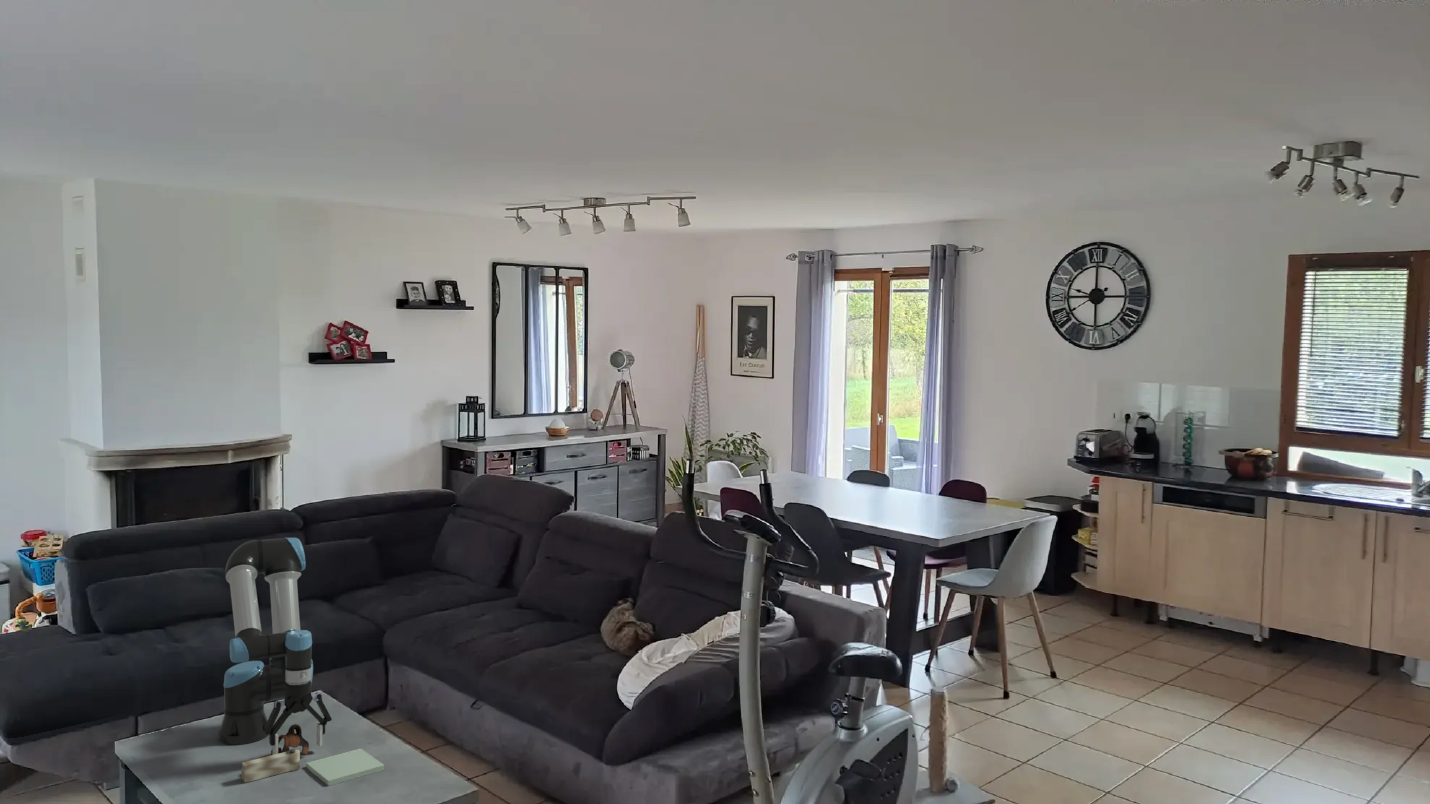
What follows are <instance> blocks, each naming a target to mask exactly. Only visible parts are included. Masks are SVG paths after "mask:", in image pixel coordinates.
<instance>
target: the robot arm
mask: <svg viewBox="0 0 1430 804" xmlns="http://www.w3.org/2000/svg"><path fill="white" fill-rule="evenodd" d="M305 569H306V555H305V550H304V546H303V544H302V541H301V540H300V539H299V538H297V537H286V536H285V537H280V538H279V537H278V538H268V539H252V540H248V541H246V542H244V543H242V544H240V545H239V546H238V547H237V548H235V549H234V550H233V552H232V553H231V554H230V556H229V557H228V560H227V562H226V564H225V570H224V571H225V572H224V573H225V574H224V575H225V580H226V582H227V583H228V584H229V587H230V588H229V589H230V597H231V607H232V615H233V625H234V626H233V627H234V636H235V638H231V639H230V641H229V657H230V658H229V659H230V661H231V663H235V665H233V666H231V667H230V668H228V669H227V670H226V671H225V672H224V679H223V680H224V681H223V688H224V689H223V690H224V691H223V692H224V694H223V695H224V696H223V697H224V699H223V700H224V701H223V705H224V707H223V708H224V711H223V713H224V714H223V718H222V721H221V724H220V727H219V731H218V741H219V743H222V744H226V745H246V744H251V743H254V742H255V743H256V742H258V741H260V740H263V739H265V738H266V737H268V736H269V745H270V747H272V748H271V750H272V754H273V755H275V754H278V747H279V745H278V737H279V734H278V732H279V730H280V729H281V728H282V726H283V725H284V724H285V722H286V720H287V719H288V718H289V717H290V716H291V715H292V714H298V713H303V712H305V711H307V712H308V713H310V714H311V716H313V717H314V719H315V720H316V721H318V722H317V723H316V745H317V746H318V747H323V735H325V734H326V725H327V724H328V722H332V719H333V718H332V717H331V715H330V712H329V711H328V709H327V707H326V705H325V704H324V701H323V696H322V694H321V693H319V692H315V693H314V694H312V684H313V674H314V662H313V659H312V652H313V651H312V650H313V649H312V648H313V647H312V644H313V639H312V633H311V631H309V630H306V629H301V622H300V621H301V620H300V619H301V618H300V608H299V607H300V606H299V605H300V604H299V593H298V592H299V590H298V579H299V578H300V577H301V576H302V571H304V570H305ZM258 575H263V576H264V577H263V578H264V580H265V581H266V582H268V583H269V593H270V594H269V596H270V608H271V622H272V623H271V624H272V625H271V626H272V627H271V628H272V633H271V634H270V633H269V634H263V633H262V624H261V618H260V617H261V616H260V609H259V602H258V601H259V600H258V594H257V593H258V592H257V587H256V586H257V585H256V579H257V577H258ZM268 659H269V660H268ZM261 660H268V661H269V664H264V662H263V661H261ZM273 701H274V702H273ZM312 701H315V703H316V704H317V706H318V708H319V710H320V712H321V714H322V716H323V717H322V716H321V715H320V714H319V713H318V712H317V711H316V710H315V709H314V708H313V707H312V706H311V703H312ZM266 702H273V708H272V711H271V713H270V714H269V717H267V714H266V712H265V706H264V705H265V703H266ZM283 706H285V707H284V709H283V710H282V713H281V714H280V712H281V709H282V708H283ZM279 714H280V716H279ZM278 716H279V717H278Z"/></svg>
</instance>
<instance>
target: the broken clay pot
mask: <svg viewBox="0 0 1430 804" xmlns="http://www.w3.org/2000/svg"><path fill="white" fill-rule="evenodd" d="M302 732H303V731H302V727H301V725H299V724H296V723H295V724H292V725H290V727H289V728H288V731H287V732H286V734H279V735H278V754H279V753H283V752H287V751H289V750H291V749H290V747H291V748H292V749H296V748H298V747H302V749H301V751H300V754H302V755H306V756H307V755H308V753H309V750H310V744H309V741H308V740H306V739H305V738H304V737H303V735H302V734H303V733H302ZM282 740H284V742H283V743H284V744H283V747H279V744H280V742H281V741H282ZM270 754H271V755H273V754H272V749H271V751H270ZM271 755H270V756H271Z"/></svg>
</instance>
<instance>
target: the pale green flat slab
mask: <svg viewBox="0 0 1430 804" xmlns="http://www.w3.org/2000/svg"><path fill="white" fill-rule="evenodd" d="M305 764H306V765H305V768H307V769H308V771H309V772H311V773H312V774H313V775H314V776H316V777H317V778H318V779H319V780H320V781H322V782H323V783H325V785H327V786H328V787H330V786H333V785H336V784H339V783H342V782H343V783H344V782H347V781H350V780H354V779H357V778H360V777H365V776H368V775H371V774H375V773H378V772H382V771H384V770H385V764H383V762H380V760H378V759H376V758H375V757H374V756H372V755H371V754H370V753H368V752H366V751H365V750H364V749H362V748H358V749H353V750H350V751H345V752H343V753H338V754H335V755H331V756H327V757H324V758H320V759H316V760H313V761H308V762H305Z"/></svg>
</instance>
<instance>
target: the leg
mask: <svg viewBox="0 0 1430 804" xmlns="http://www.w3.org/2000/svg"><path fill="white" fill-rule="evenodd" d="M300 757H301V750H299V749H296V748H292V749H290V750H289V751H287V752H283V753H279V754H275V755H267V756H264V757H260V758H259V757H258V758H254V759H251V760H247V761H243V762H241V780H242V781H243V782H244V783H249V782H253V781H257V780H261V779H265V778H268V777H273V776H276V775H280V774H284V773H288V772H294V771H298V770H300V767H301V762H300V761H301V759H300Z"/></svg>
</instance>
